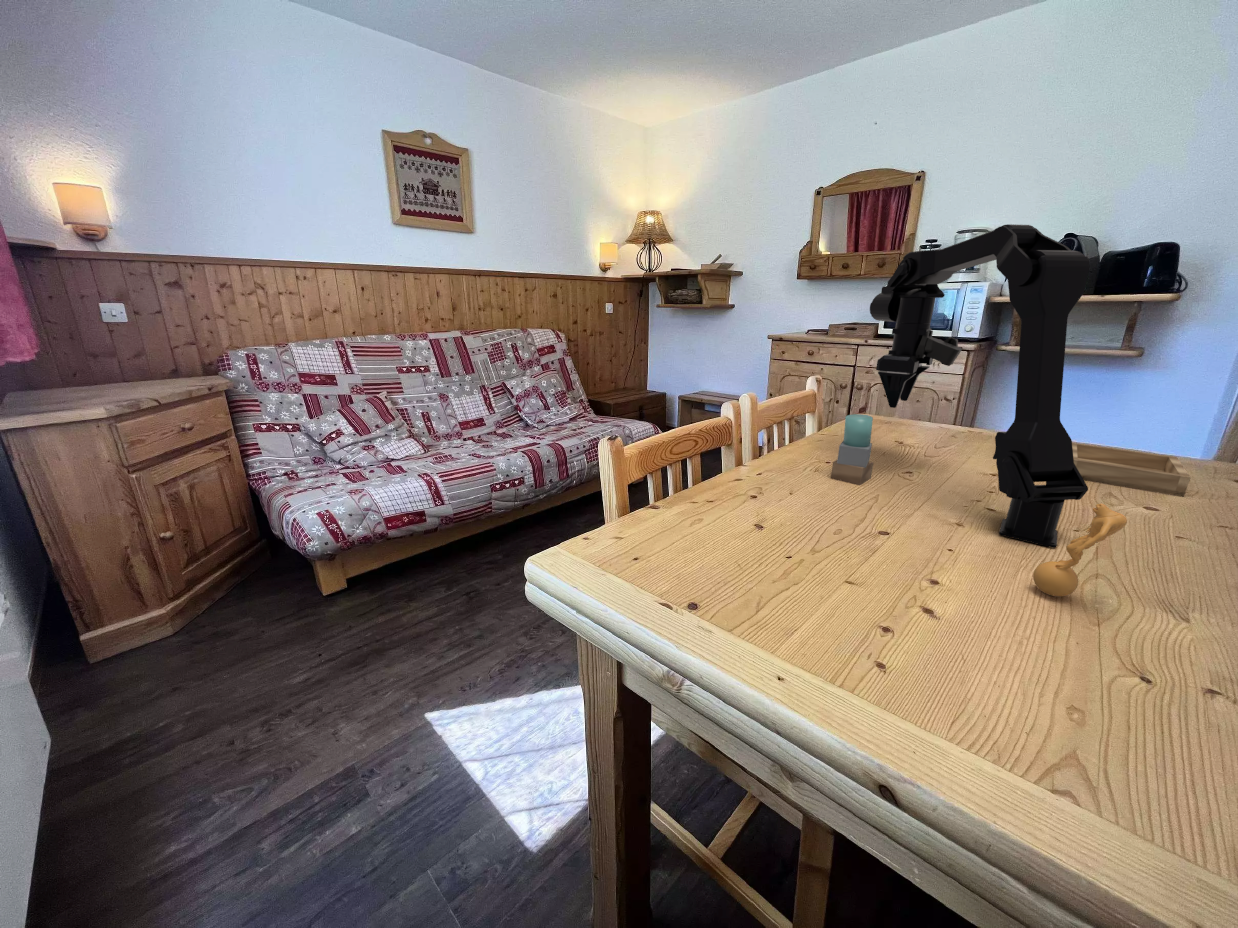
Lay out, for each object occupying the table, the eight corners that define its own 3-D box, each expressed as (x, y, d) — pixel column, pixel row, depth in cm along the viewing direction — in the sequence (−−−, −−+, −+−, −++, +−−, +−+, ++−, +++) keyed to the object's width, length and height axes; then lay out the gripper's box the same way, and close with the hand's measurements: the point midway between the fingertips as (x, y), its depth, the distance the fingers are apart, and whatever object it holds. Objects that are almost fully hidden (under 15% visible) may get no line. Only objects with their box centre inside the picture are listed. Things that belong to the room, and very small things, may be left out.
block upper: (865, 467, 92) (868, 449, 91) (836, 463, 95) (839, 445, 94) (869, 460, 96) (872, 443, 95) (841, 456, 99) (844, 439, 98)
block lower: (859, 486, 93) (862, 468, 92) (830, 478, 97) (832, 461, 96) (870, 479, 97) (873, 462, 96) (842, 472, 100) (844, 455, 99)
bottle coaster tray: (1183, 496, 88) (1190, 477, 87) (1064, 476, 98) (1069, 459, 96) (1170, 474, 99) (1176, 456, 98) (1064, 458, 109) (1069, 442, 108)
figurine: (1038, 574, 63) (1065, 485, 59) (1102, 595, 58) (1136, 500, 55) (1020, 599, 58) (1048, 502, 54) (1089, 623, 53) (1125, 520, 49)
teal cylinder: (870, 447, 92) (873, 421, 90) (843, 446, 94) (845, 420, 92) (869, 439, 96) (872, 414, 94) (843, 438, 98) (845, 413, 96)
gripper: (954, 326, 83) (936, 417, 88) (970, 322, 97) (953, 402, 102) (882, 324, 90) (868, 409, 95) (906, 321, 104) (893, 395, 109)
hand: (898, 404), depth 100 cm, fingers open, 9 cm apart
